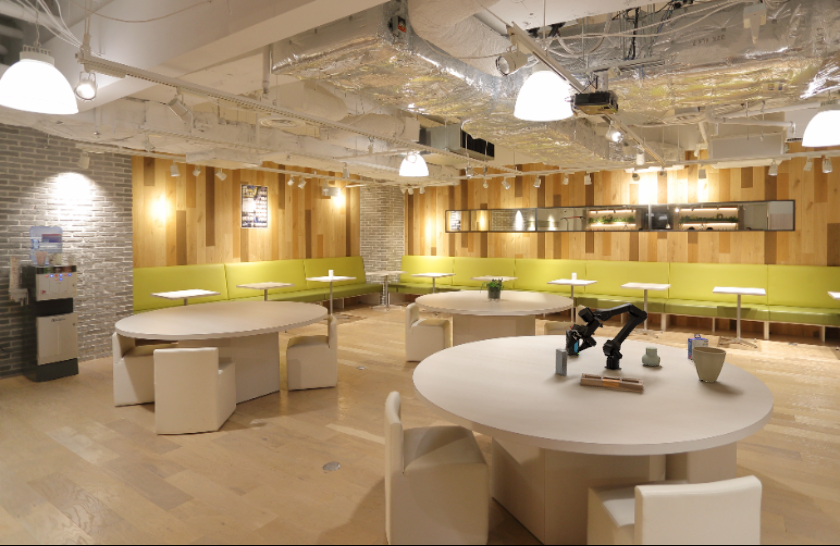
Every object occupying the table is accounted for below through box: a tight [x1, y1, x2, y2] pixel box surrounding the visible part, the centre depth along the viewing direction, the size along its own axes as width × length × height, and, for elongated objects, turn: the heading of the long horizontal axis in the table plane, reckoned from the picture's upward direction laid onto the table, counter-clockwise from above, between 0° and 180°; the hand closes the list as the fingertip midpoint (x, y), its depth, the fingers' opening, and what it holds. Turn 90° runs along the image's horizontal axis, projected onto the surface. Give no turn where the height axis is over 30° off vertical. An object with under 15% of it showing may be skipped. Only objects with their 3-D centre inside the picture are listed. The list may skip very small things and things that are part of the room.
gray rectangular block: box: [555, 348, 568, 376], centre depth 263 cm, size 3×6×13 cm, turn 17°
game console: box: [565, 325, 581, 356], centre depth 311 cm, size 28×6×15 cm, turn 168°
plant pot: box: [693, 346, 727, 383], centre depth 250 cm, size 15×15×16 cm
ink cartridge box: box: [687, 333, 709, 361], centre depth 292 cm, size 10×6×14 cm, turn 89°
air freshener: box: [641, 346, 661, 367], centre depth 279 cm, size 11×8×10 cm
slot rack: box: [580, 373, 644, 393], centre depth 242 cm, size 10×28×4 cm, turn 67°
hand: (572, 349), depth 264 cm, fingers open, 9 cm apart
